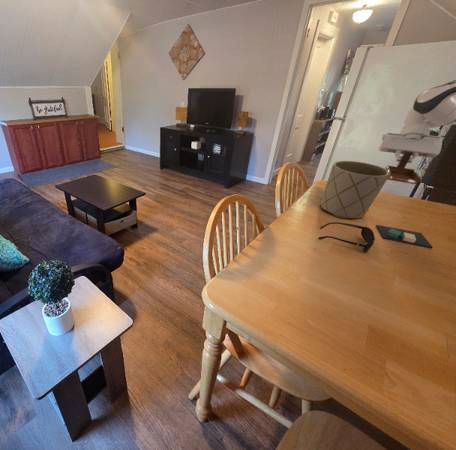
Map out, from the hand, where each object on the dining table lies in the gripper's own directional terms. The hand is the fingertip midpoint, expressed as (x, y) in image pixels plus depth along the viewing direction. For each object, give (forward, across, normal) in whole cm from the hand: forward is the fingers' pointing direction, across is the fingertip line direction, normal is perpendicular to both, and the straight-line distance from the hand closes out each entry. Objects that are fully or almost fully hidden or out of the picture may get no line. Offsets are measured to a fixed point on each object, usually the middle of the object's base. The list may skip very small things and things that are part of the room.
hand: (403, 161), depth 110 cm
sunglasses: (+51, -15, -24) cm, 59 cm away
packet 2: (+40, +5, -16) cm, 43 cm away
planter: (+32, -16, -5) cm, 37 cm away
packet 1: (+40, 0, -16) cm, 43 cm away
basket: (+8, 0, 0) cm, 8 cm away
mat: (+40, +4, -13) cm, 42 cm away
